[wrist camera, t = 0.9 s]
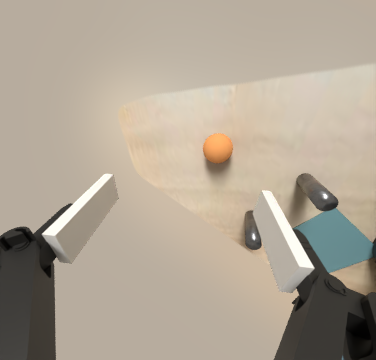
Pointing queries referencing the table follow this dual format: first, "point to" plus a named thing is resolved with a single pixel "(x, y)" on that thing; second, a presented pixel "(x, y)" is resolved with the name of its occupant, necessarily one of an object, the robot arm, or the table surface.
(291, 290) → the robot arm
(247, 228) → the left post
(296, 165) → the table surface
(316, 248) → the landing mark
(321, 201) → the right post
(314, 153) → the table surface
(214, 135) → the ball
